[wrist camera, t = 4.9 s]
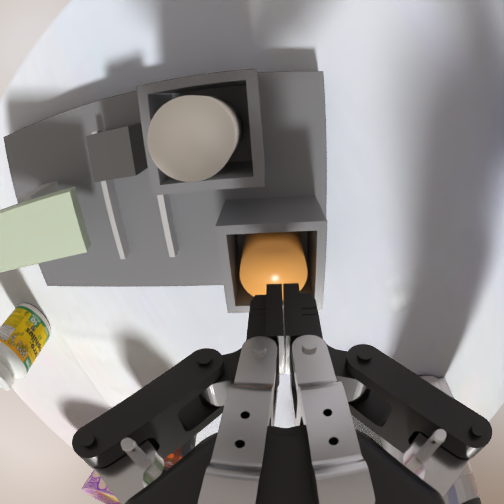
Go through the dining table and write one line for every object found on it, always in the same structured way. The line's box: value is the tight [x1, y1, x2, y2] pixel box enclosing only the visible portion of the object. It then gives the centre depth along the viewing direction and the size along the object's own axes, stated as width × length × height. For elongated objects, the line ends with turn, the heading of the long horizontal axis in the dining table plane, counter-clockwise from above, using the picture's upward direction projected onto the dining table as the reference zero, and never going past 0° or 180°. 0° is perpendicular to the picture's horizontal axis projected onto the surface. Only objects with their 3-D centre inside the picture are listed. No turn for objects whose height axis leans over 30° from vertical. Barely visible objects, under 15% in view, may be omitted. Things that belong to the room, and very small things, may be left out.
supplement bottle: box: [0, 303, 51, 391], centre depth 23 cm, size 5×5×10 cm
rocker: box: [0, 187, 91, 273], centre depth 15 cm, size 9×4×1 cm, turn 94°
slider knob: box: [86, 123, 148, 182], centre depth 16 cm, size 3×3×3 cm
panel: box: [4, 69, 327, 313], centre depth 18 cm, size 24×14×6 cm, turn 94°
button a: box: [240, 231, 308, 298], centre depth 18 cm, size 4×4×4 cm
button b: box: [147, 95, 242, 182], centre depth 13 cm, size 4×4×4 cm
